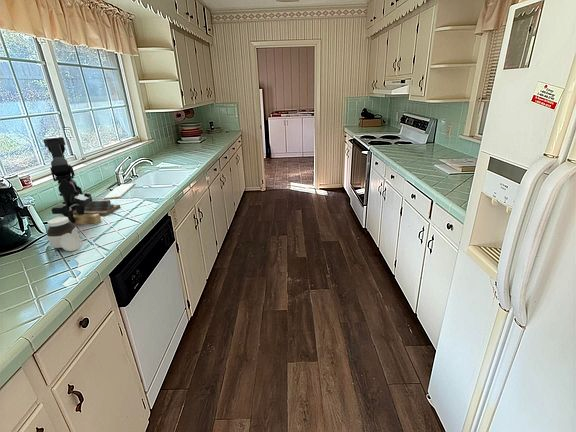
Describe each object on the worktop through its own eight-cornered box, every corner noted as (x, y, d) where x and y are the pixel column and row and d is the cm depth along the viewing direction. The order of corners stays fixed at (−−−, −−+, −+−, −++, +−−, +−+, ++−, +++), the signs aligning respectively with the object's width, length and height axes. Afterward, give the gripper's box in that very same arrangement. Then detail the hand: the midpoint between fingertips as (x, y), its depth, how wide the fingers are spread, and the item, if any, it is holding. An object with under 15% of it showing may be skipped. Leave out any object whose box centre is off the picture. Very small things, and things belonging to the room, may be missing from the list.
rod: (56, 226, 151) (53, 218, 150) (60, 223, 154) (58, 216, 153) (97, 223, 151) (95, 216, 150) (101, 221, 154) (99, 213, 153)
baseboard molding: (99, 200, 188) (120, 198, 189) (98, 196, 187) (119, 194, 188) (117, 186, 216) (135, 185, 218) (116, 182, 215) (134, 181, 217)
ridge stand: (71, 215, 164) (67, 204, 162) (87, 207, 175) (84, 197, 173) (105, 215, 161) (102, 204, 159) (120, 207, 172) (117, 196, 170)
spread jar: (66, 241, 133) (57, 215, 129) (92, 240, 133) (84, 214, 128) (45, 255, 122) (34, 227, 118) (73, 253, 121) (63, 226, 117)
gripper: (67, 196, 137) (78, 229, 143) (97, 184, 154) (106, 214, 160) (45, 196, 139) (56, 228, 144) (77, 184, 156) (86, 214, 161)
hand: (78, 221), depth 152 cm, fingers open, 5 cm apart
